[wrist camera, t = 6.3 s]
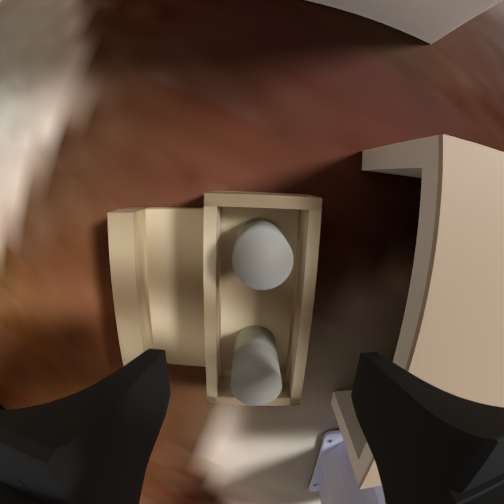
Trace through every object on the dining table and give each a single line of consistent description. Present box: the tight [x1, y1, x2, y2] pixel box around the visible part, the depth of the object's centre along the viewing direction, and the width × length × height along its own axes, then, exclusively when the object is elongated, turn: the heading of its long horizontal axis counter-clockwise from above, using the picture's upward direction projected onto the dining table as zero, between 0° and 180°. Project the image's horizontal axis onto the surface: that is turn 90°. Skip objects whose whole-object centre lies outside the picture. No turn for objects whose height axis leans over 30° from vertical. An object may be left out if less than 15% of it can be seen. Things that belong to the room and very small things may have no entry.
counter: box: [331, 134, 504, 490], centre depth 15 cm, size 18×10×9 cm, turn 178°
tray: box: [107, 191, 322, 406], centre depth 16 cm, size 12×11×5 cm
